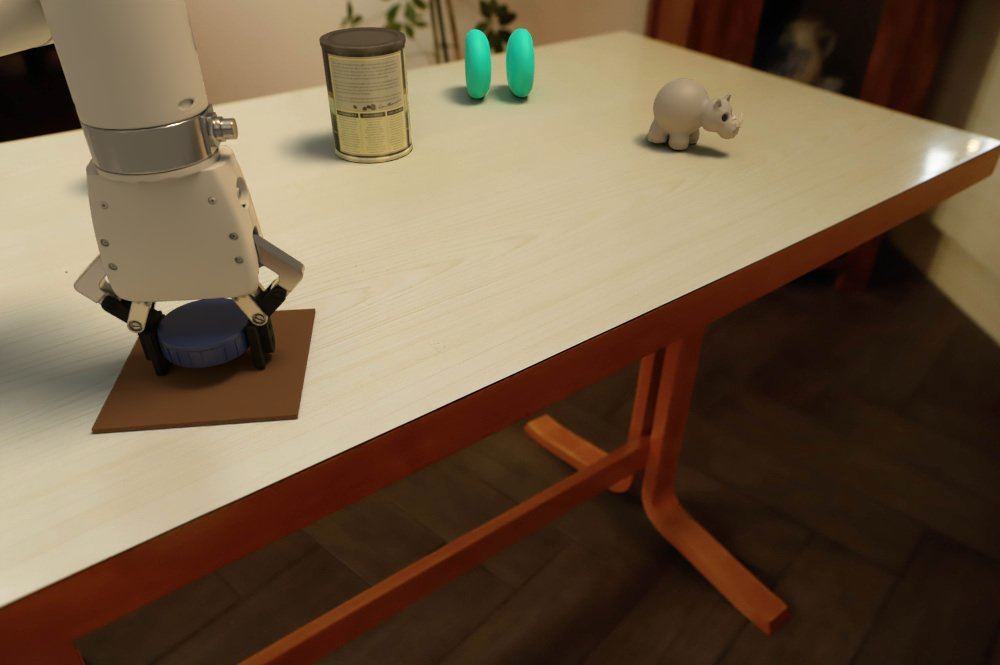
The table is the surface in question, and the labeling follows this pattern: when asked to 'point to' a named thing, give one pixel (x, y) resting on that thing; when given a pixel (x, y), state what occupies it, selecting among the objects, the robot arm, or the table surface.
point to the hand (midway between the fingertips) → (215, 360)
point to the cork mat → (213, 385)
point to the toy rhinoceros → (690, 114)
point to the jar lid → (203, 333)
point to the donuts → (516, 63)
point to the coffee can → (367, 93)
